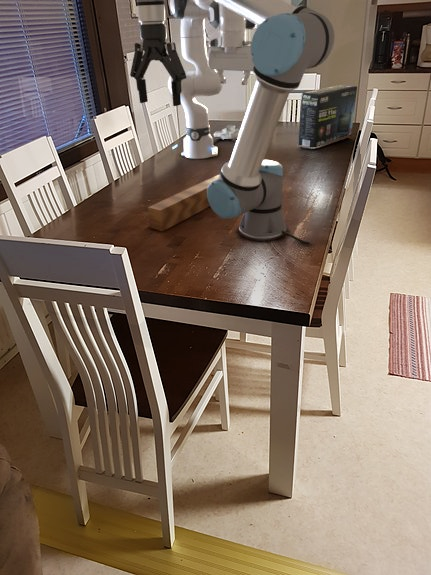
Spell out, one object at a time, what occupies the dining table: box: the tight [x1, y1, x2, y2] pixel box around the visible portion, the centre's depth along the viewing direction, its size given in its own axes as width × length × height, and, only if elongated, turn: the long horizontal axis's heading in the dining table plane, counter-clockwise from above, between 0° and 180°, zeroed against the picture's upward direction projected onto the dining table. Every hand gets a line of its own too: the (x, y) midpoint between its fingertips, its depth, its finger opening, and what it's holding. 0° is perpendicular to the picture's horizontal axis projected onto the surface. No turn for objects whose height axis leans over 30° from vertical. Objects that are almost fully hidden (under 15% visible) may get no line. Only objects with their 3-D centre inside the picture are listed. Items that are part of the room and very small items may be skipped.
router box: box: [297, 84, 358, 151], centre depth 238 cm, size 36×11×27 cm, turn 134°
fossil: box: [212, 124, 241, 142], centre depth 261 cm, size 18×11×15 cm
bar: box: [147, 173, 220, 232], centre depth 172 cm, size 55×6×7 cm, turn 144°
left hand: (233, 84), depth 167 cm, fingers open, 8 cm apart
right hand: (160, 103), depth 139 cm, fingers open, 13 cm apart
